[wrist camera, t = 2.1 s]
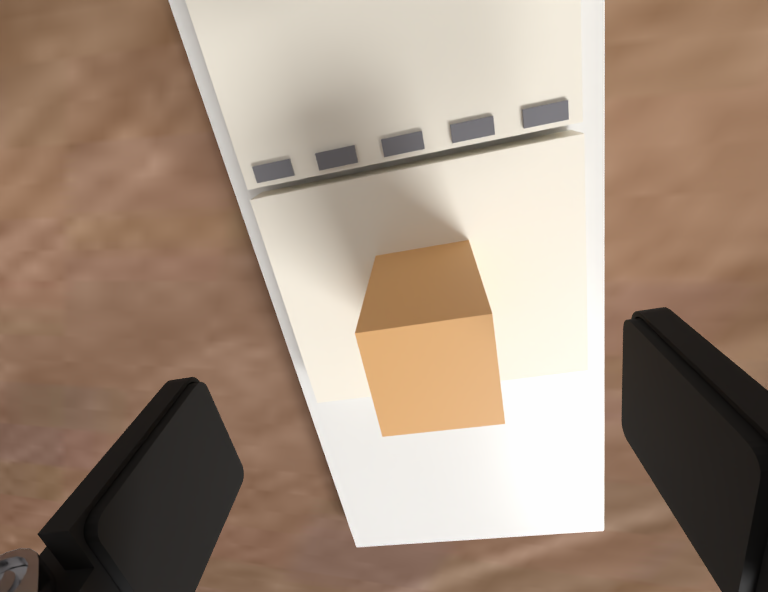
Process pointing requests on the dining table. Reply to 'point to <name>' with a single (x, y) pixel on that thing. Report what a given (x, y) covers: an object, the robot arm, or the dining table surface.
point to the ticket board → (403, 145)
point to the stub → (436, 279)
